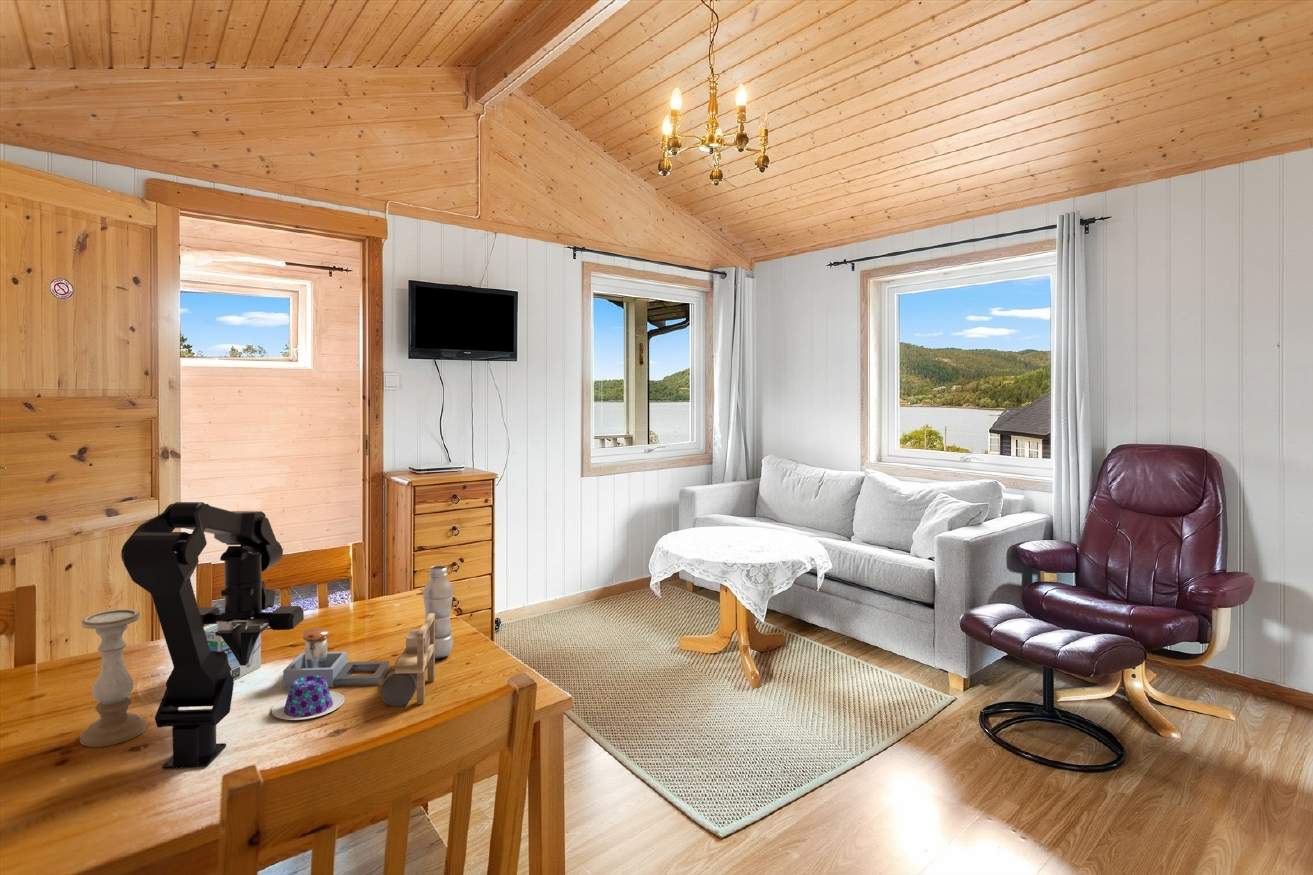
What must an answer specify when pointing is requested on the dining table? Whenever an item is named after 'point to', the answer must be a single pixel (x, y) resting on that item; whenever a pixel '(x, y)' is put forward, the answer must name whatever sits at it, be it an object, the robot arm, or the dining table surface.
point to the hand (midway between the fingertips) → (244, 664)
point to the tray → (298, 668)
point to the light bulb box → (220, 645)
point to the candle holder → (112, 682)
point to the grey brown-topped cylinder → (316, 647)
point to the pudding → (307, 699)
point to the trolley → (412, 667)
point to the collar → (354, 680)
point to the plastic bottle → (440, 608)
